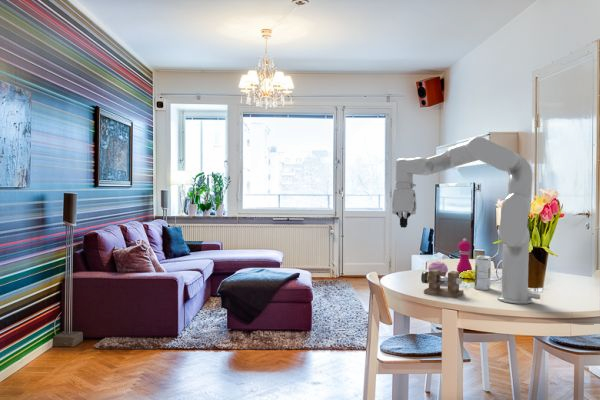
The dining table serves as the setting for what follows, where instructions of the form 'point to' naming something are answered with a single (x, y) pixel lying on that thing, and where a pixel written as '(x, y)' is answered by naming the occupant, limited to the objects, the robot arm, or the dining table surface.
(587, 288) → the dining table surface
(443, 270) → the cupcake
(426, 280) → the shaft
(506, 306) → the dining table surface
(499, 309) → the dining table surface
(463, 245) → the pepper mill
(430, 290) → the bracket
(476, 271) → the silver can
